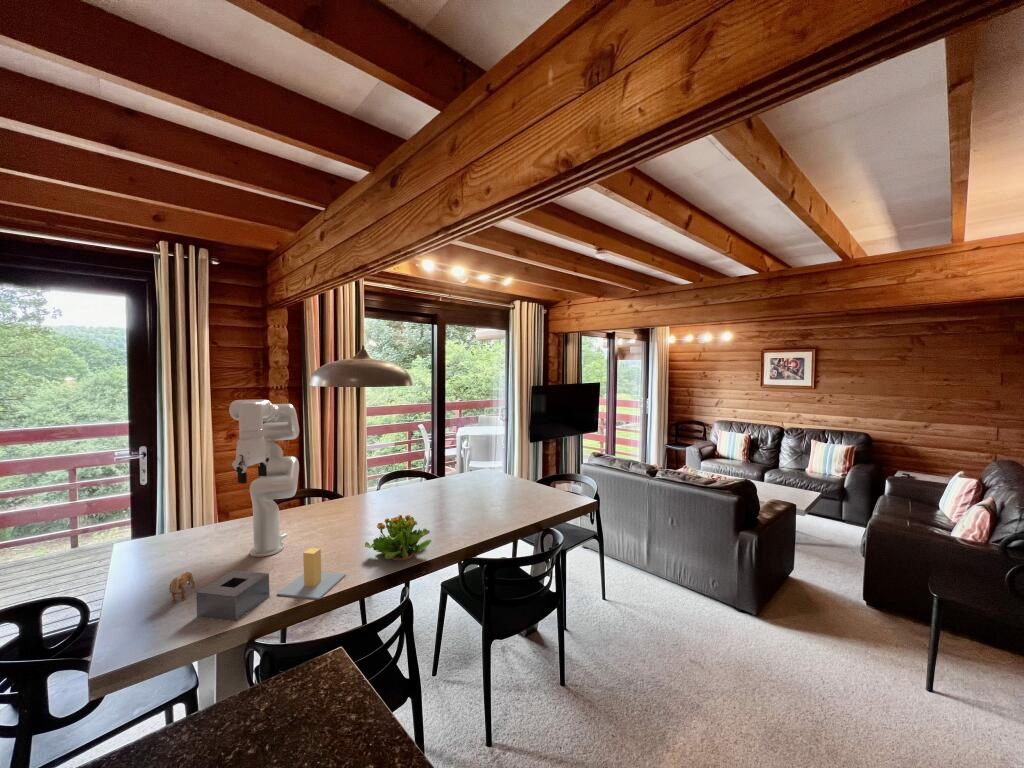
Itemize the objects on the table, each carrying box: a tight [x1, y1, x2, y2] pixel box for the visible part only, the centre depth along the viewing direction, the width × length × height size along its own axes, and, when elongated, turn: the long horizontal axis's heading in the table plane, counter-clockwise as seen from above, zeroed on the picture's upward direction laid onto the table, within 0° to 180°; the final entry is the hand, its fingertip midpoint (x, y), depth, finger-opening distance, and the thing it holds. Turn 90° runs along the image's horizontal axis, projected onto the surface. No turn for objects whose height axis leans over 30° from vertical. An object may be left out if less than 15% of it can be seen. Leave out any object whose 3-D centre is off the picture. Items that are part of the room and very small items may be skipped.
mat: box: [276, 571, 347, 600], centre depth 148 cm, size 16×16×1 cm
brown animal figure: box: [168, 571, 196, 604], centre depth 141 cm, size 15×5×9 cm, turn 28°
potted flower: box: [364, 514, 432, 562], centre depth 171 cm, size 25×24×18 cm
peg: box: [302, 547, 322, 587], centre depth 148 cm, size 4×4×12 cm
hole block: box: [195, 569, 270, 622], centre depth 135 cm, size 14×14×8 cm
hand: (252, 479), depth 155 cm, fingers open, 9 cm apart
